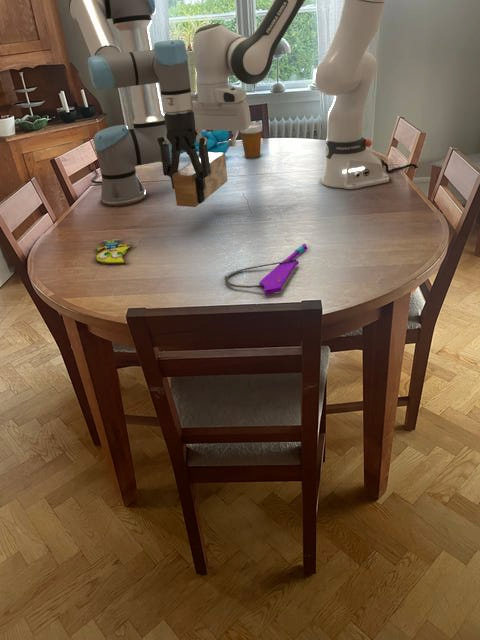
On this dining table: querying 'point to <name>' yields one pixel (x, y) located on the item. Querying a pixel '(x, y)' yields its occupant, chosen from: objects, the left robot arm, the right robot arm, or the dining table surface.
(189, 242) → the dining table surface
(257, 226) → the dining table surface
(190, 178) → the bar
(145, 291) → the dining table surface
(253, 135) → the glass of beer
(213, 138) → the toy
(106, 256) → the toy
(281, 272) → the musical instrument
